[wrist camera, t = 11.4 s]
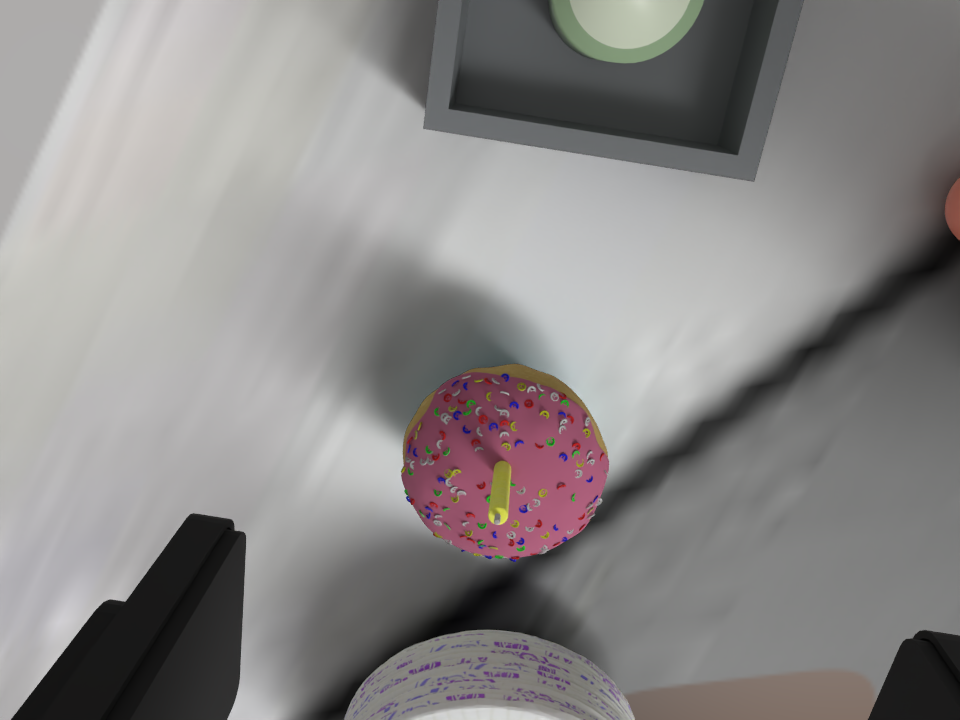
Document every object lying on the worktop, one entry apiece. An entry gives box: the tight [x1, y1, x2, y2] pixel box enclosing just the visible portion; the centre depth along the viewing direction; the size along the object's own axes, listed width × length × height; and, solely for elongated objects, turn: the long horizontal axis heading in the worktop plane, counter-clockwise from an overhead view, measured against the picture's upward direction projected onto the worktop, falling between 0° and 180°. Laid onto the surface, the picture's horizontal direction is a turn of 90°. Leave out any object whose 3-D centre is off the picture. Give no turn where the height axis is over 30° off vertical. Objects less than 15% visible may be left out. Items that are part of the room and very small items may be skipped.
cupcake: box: [401, 364, 609, 562], centre depth 31 cm, size 9×8×12 cm
